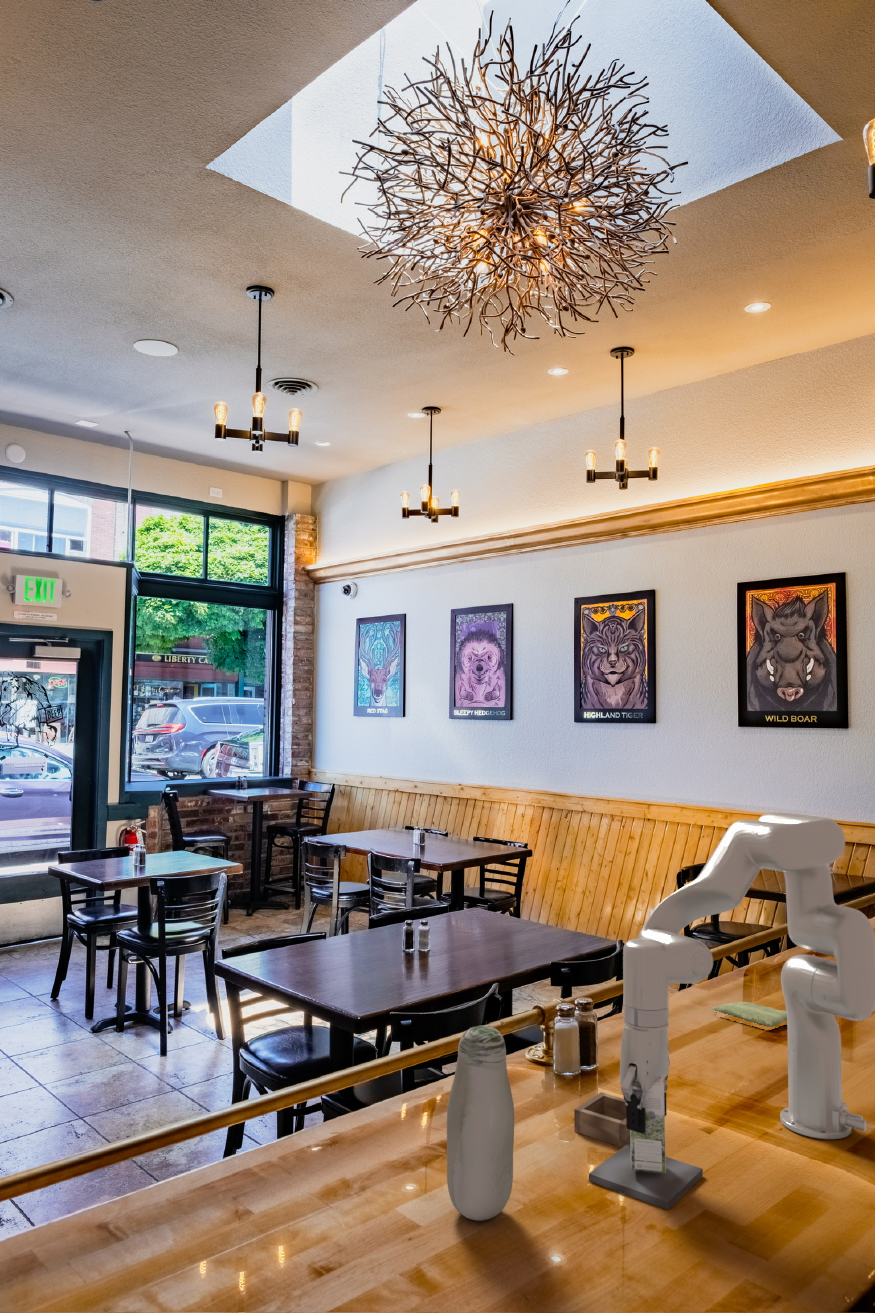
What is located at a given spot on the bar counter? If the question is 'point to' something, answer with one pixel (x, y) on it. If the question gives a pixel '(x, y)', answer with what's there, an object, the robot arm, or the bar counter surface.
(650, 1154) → the syrup box
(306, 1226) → the bar counter surface
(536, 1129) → the bar counter surface
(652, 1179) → the serving board
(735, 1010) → the washcloth
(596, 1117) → the walnut holder
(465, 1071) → the white bottle
